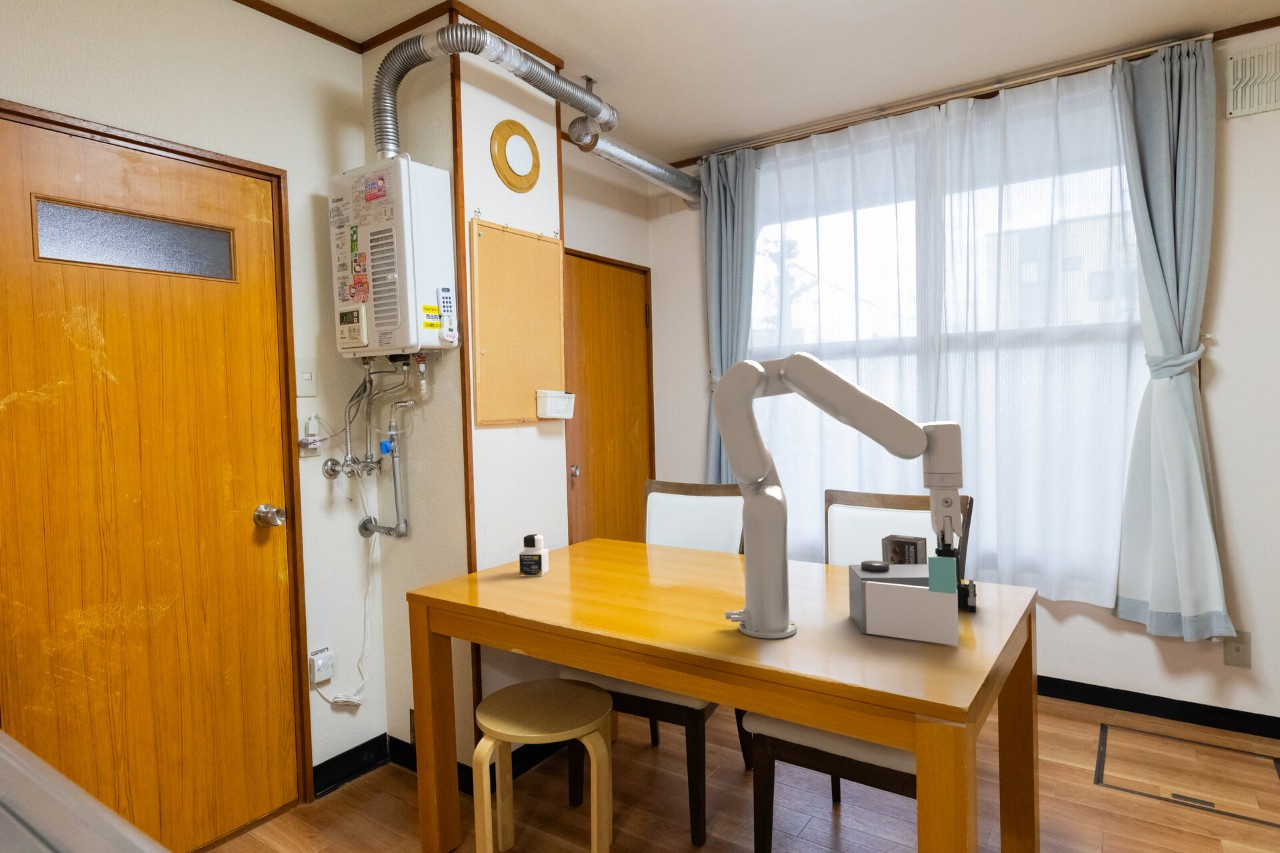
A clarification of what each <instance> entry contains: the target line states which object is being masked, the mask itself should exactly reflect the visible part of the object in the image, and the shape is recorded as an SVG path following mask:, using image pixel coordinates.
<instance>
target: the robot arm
mask: <svg viewBox="0 0 1280 853" xmlns="http://www.w3.org/2000/svg"><path fill="white" fill-rule="evenodd" d="M794 393H796V394H797V395H798V396H801V398H803V399H805V400H806V401H808V402H809V403H811V404H812V405H814V406H816V408H818V409H820V410H821V411H823V412H824V413H825V414H827V415H828V416H830V417H832V418H833V419H834V420H836V421H838V422H840V423H841V424H844V425H846V426H848V427H850V428H853V429H855V430H856V431H857V432H860V433H861V434H863V435H864V436H866V437H868V438H869V439H870V440H872V441H874V442H875V443H877V444H878V445H879V446H880V447H882V448H884V450H885V451H886V452H887V453H889V454H890V455H892V456H894V457H896V458H898V459H901V460H906V461H908V460H909V461H910V460H915V459H918V458H919V457H921V456H922V472H923V473H922V475H923V476H922V477H923V480H922V481H923V488H924V489H929V505H930V506H929V508H930V521H931V522H930V523H931V529H932V531H933V532H934V534H935V535H936V544H937V547H936V548H937V554H936V556H938V557H951V558H955V555H954V548H955V546H954V542H955V540H954V536H955V535H956V536H957V537H958V538H961V537H962V536H963V524H962V512H961V511H962V510H961V499H960V493H959V489H960V490H961V489H963V488H964V481H963V480H964V478H963V476H964V475H963V452H962V451H963V450H962V449H963V448H962V429H961V426H960V424H959V423H957V422H954V421H931V422H926V423H915V422H914V421H912V420H911V419H909V418H908V417H906V416H905V415H903V414H902V413H900V412H899V411H897V410H896V409H894V408H892V407H891V406H889V405H887V404H886V403H885V402H883V401H882V400H880V399H878V398H876V397H875V396H873V395H872V394H870V392H868V391H867V390H865V389H864V388H862V387H860V386H859V385H857V384H856V383H854V382H853V381H851V380H850V379H848V378H847V377H845V376H844V375H842V374H841V373H839V372H837V371H836V370H834V369H833V368H831V367H830V366H829V365H827V364H825V362H822V360H821V361H820V360H819V359H818V358H817V357H815V356H813V355H812V354H809V353H807V352H802V351H798V352H794V353H791V354H789V355H788V356H786V357H782V358H775V359H769V360H768V359H767V360H761V361H754V360H752V359H743V360H740V361H737V362H735V363H734V364H732V365H731V366H730V367H728V369H727V370H726V371H725V372H724V373H723V374H722V376H721V377H720V379H719V380H718V382H717V384H716V386H715V389H714V394H713V403H712V404H713V405H712V406H713V413H714V418H715V421H716V424H717V428H718V432H719V434H720V439H721V442H722V445H723V448H724V451H725V455H726V458H727V461H728V468H729V471H730V472H731V474H732V475H733V477H734V478H735V479H736V481H737V484H738V487H739V490H740V493H741V497H742V500H743V505H742V510H741V511H742V512H741V515H742V517H741V518H742V531H743V532H742V533H743V552H744V553H743V558H744V580H745V581H744V586H745V587H744V591H745V592H744V595H745V596H744V597H745V605H743V609H739V610H736V611H735V610H734V611H733V610H725V614H724V615H725V620H730V621H731V623H737V622H739V624H738V629H739V631H740V632H741V633H743V634H744V635H747V636H749V637H754V638H758V639H782V638H786V637H790V636H793V635H794V634H795V633H797V630H798V628H797V623H796V622H794V621H792V620H791V619H790V597H789V596H790V590H789V588H790V587H789V584H790V583H789V553H788V552H789V551H788V549H789V548H788V547H789V546H788V505H787V504H788V503H787V498H786V495H785V492H784V489H783V486H782V483H781V481H780V480H781V479H780V478H779V474H778V471H777V468H776V465H775V462H774V459H773V456H772V453H771V451H770V449H769V447H768V446H766V445H765V444H764V440H763V438H762V435H761V433H760V430H759V425H758V422H757V419H756V416H755V414H754V411H753V403H754V402H753V401H754V400H755V399H759V398H760V399H761V398H769V397H776V396H782V395H783V396H784V395H788V394H794ZM954 534H955V535H954Z"/></svg>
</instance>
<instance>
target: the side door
mask: <svg viewBox="0 0 1280 853" xmlns="http://www.w3.org/2000/svg"><path fill="white" fill-rule="evenodd" d="M927 564H928V571H929V587H921V586H911V585H901V584H891V583H881V582H871V581H860V592H861V630H860V632H861V633H862V634H871V635H875V636H883V637H892V638H897V639H898V638H900V639H906V640H915V641H920V642H921V641H922V642H929V643H935V644H943V645H951V646H959V615H958V611H959V609H958V596H957V590H956V558H951V557H938V556H937V555H929V556H927Z"/></svg>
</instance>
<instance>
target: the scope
mask: <svg viewBox="0 0 1280 853" xmlns="http://www.w3.org/2000/svg"><path fill="white" fill-rule="evenodd" d="M937 548H938V547H936V548H935V549H934V552H935V555H937ZM954 555H955V558H956V577H957V596H958V610H967V612H969V613H970V612H974V613H977V596H978V594H977V591H976V590H977V588H976V587H977V585H976V583H975V582H974V581H975V580H974V579H968V584H967V583H962V578H961V563H960V557H959V556H960V555H961V550H960V549H958V548H957V547H956V548H955V547H954Z"/></svg>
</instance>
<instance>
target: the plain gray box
mask: <svg viewBox="0 0 1280 853" xmlns="http://www.w3.org/2000/svg"><path fill="white" fill-rule="evenodd" d="M860 581H871V582H881V583H891V584H901V585H911V586H921V587H929V571H928V563H927V564H903V565H889V563H887V562H883V560H882V561H881V560H864V561H861V562H860V564H848V587H849V588H848V589H849V590H848V593H849V594H848V598H849V599H848V600H849V602H848V603H849V617H850V618H851V620H852V621H853V622H854V624H855V625H856V626H857V628H858V629H859V631H861V592H860ZM956 590H957V577H956Z"/></svg>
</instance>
